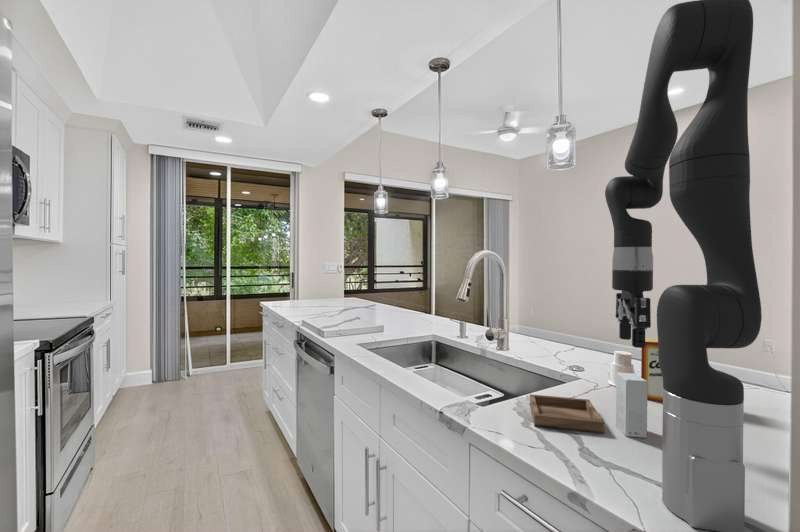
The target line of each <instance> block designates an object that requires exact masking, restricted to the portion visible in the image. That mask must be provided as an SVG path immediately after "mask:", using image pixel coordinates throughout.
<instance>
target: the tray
mask: <svg viewBox="0 0 800 532" xmlns="http://www.w3.org/2000/svg"><path fill="white" fill-rule="evenodd" d="M529 405H530V411H531V415H532V420H533V425H534V427H537V428H538V427H539V428H546V429H555V430H556V429H557V430H564V431H573V432H574V431H575V432H582V433H592V434H601V435H604V434H605V422H604V420H603V418H602V417H601V416H600V414H599V413H598V410H597V409H596V408H595V406H594V405H593V403H592V402H591V400H590V399H584V398H575V397H564V396H552V395H542V394H533V393H532V394H529Z"/></svg>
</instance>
